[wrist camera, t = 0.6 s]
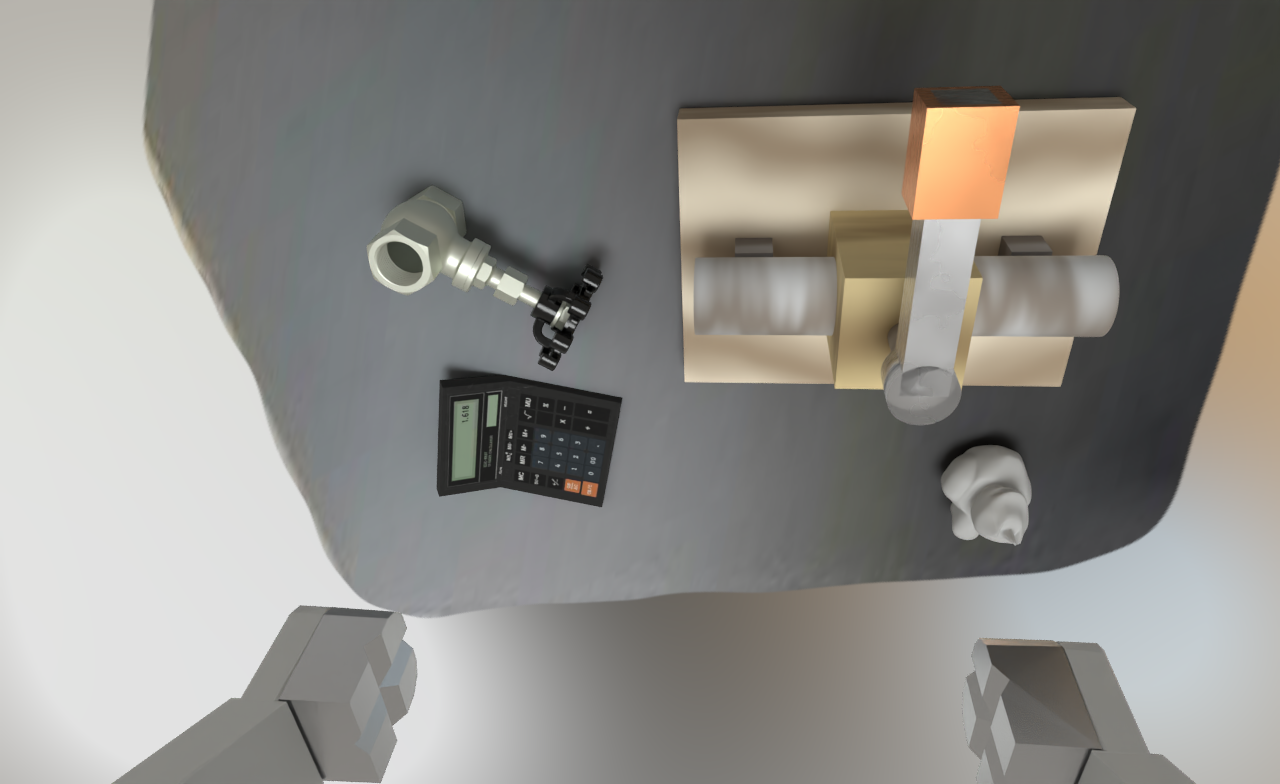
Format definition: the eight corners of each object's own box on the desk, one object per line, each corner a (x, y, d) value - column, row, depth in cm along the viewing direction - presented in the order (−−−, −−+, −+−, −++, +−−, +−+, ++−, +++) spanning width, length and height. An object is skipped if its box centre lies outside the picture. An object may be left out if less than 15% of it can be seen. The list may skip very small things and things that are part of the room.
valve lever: (944, 395, 38) (956, 430, 36) (876, 394, 38) (884, 428, 36) (1000, 85, 30) (1019, 105, 28) (914, 88, 30) (927, 108, 28)
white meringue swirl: (1041, 445, 54) (1083, 532, 47) (985, 515, 58) (1016, 604, 51) (965, 418, 53) (996, 503, 47) (913, 491, 57) (935, 578, 50)
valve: (387, 242, 51) (563, 333, 53) (344, 293, 45) (542, 392, 48) (423, 150, 47) (611, 252, 49) (381, 192, 42) (594, 305, 44)
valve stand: (679, 108, 44) (659, 197, 34) (1120, 96, 42) (1245, 189, 31) (686, 364, 53) (672, 497, 43) (1050, 368, 51) (1129, 510, 40)
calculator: (603, 499, 61) (597, 527, 58) (446, 468, 61) (433, 495, 58) (622, 395, 55) (616, 422, 53) (450, 361, 55) (436, 386, 53)
